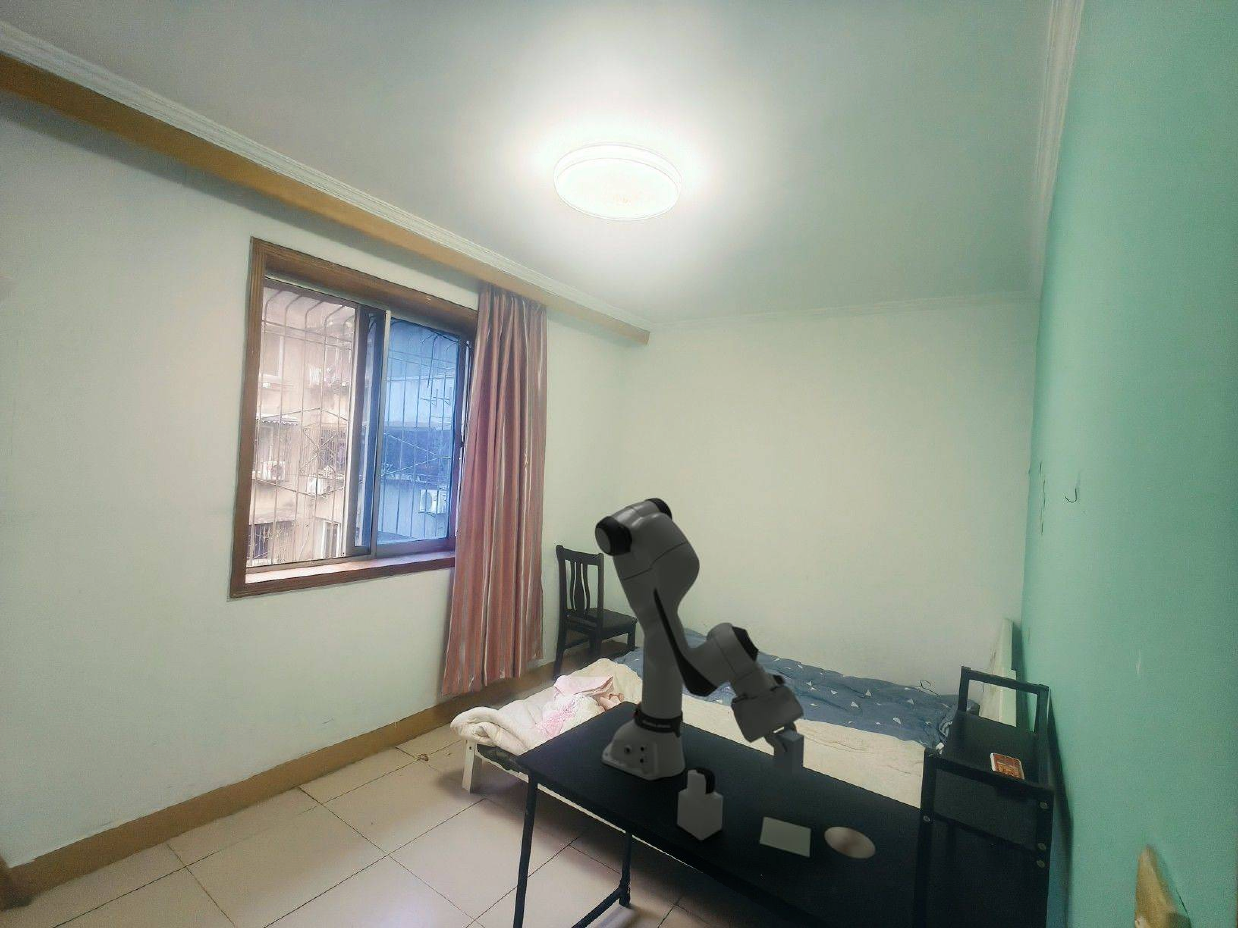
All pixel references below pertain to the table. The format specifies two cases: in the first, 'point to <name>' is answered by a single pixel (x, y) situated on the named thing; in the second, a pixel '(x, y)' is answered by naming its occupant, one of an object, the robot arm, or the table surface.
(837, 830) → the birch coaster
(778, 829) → the sage mat
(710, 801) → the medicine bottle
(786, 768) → the grey block
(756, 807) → the table surface
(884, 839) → the table surface
